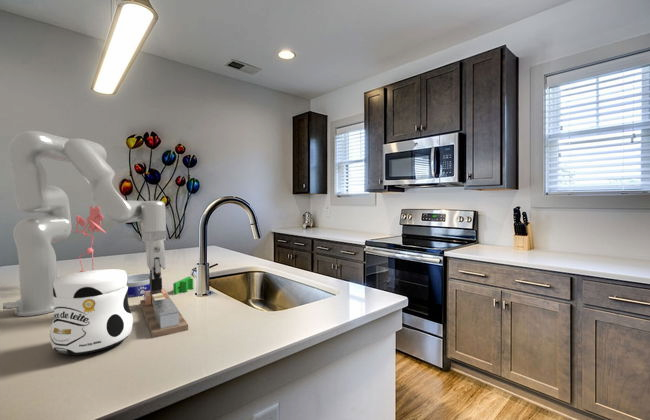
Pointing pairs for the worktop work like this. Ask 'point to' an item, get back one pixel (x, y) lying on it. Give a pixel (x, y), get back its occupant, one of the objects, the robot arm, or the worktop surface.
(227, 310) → the worktop surface
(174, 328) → the board
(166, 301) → the grey concrete brick
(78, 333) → the milk container
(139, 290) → the dog bowl
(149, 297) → the socket
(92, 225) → the figurine
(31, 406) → the worktop surface
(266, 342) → the worktop surface
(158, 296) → the bar
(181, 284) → the pipe clamp
